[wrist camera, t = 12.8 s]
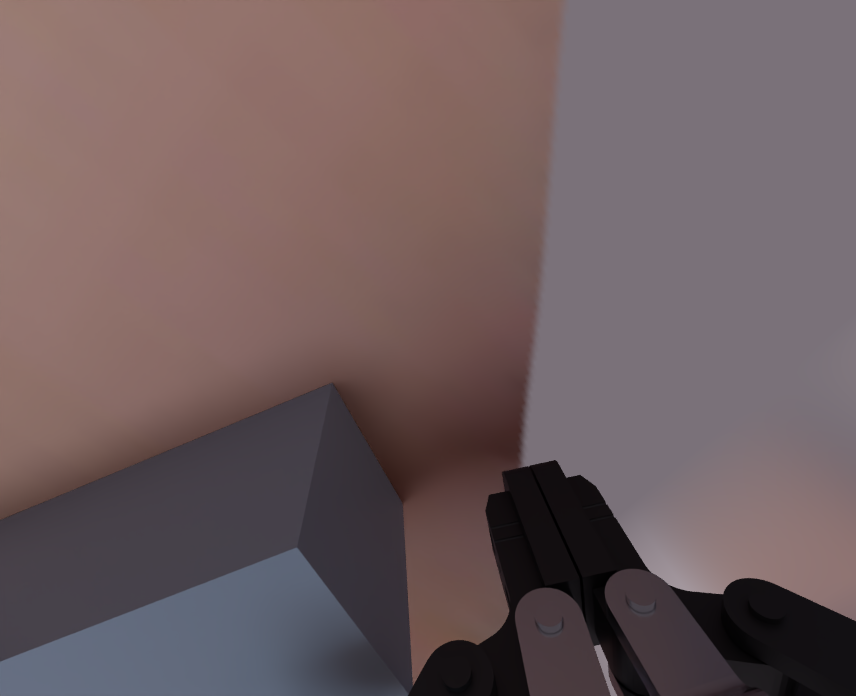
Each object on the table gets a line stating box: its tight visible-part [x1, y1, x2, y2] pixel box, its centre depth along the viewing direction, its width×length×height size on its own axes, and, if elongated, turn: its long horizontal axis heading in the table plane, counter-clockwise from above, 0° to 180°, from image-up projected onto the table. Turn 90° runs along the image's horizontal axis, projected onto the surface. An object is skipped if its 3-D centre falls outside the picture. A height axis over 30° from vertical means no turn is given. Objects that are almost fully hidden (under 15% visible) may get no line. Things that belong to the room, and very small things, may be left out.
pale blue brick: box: [0, 383, 413, 696], centre depth 12 cm, size 5×12×6 cm, turn 112°
